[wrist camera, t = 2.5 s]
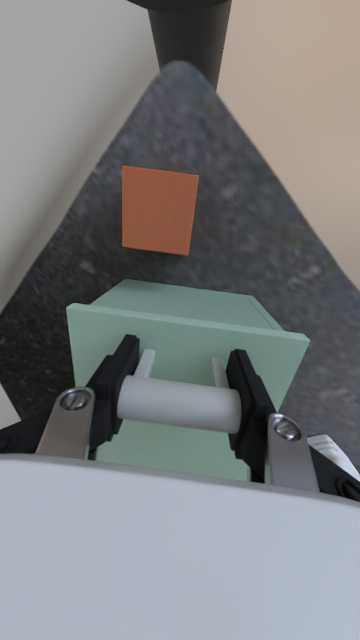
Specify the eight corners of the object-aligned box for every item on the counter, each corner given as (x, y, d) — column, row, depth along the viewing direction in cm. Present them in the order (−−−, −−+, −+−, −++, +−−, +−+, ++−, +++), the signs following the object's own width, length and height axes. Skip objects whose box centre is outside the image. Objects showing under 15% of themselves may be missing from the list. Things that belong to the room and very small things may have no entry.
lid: (73, 302, 12) (-5, 350, 7) (303, 333, 12) (376, 401, 7) (91, 468, 19) (57, 548, 14) (236, 488, 18) (251, 574, 14)
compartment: (124, 278, 21) (75, 314, 12) (253, 295, 21) (298, 344, 12) (124, 390, 27) (91, 467, 19) (222, 403, 27) (236, 487, 19)
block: (140, 182, 17) (122, 164, 13) (197, 189, 17) (198, 175, 13) (138, 242, 19) (121, 246, 15) (189, 249, 19) (188, 255, 15)
